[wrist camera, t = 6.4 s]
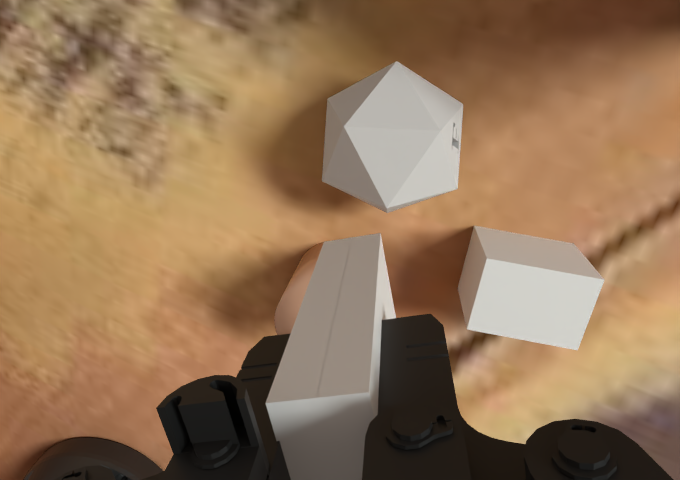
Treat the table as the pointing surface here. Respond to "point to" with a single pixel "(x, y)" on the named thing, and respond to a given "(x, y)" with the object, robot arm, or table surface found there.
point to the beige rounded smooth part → (295, 291)
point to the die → (392, 139)
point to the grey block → (527, 288)
